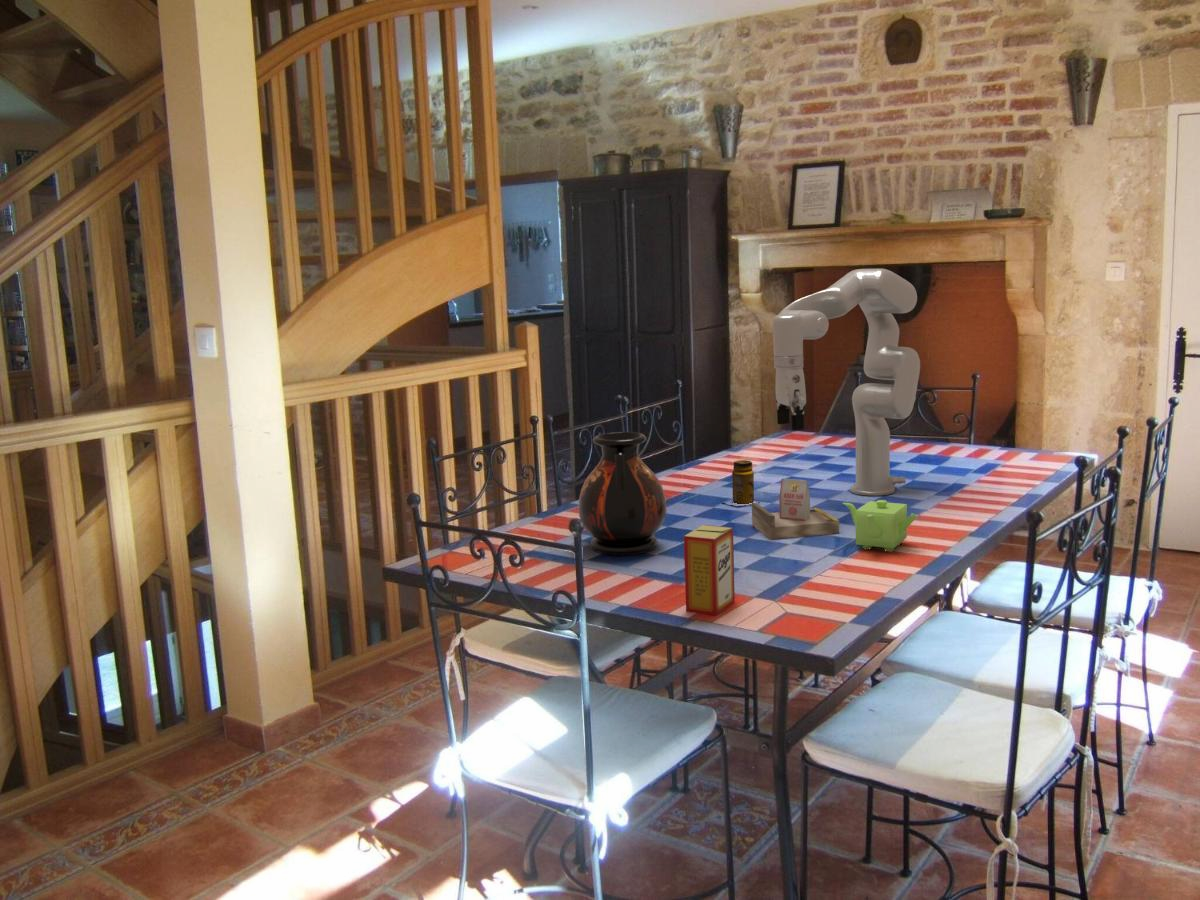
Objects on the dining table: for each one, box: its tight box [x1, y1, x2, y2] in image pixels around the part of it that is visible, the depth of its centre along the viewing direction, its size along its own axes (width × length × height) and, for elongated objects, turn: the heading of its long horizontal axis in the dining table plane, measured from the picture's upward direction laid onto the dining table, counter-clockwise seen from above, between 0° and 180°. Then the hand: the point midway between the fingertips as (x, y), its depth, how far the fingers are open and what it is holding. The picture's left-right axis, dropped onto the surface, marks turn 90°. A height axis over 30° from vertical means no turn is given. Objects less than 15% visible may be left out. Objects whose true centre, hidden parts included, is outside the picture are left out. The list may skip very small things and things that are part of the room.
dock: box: [751, 503, 840, 540], centre depth 266 cm, size 18×14×6 cm
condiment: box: [731, 459, 755, 504], centre depth 295 cm, size 7×8×12 cm
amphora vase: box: [577, 431, 667, 556], centre depth 254 cm, size 22×22×28 cm
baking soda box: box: [683, 524, 736, 616], centre depth 210 cm, size 10×6×16 cm
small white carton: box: [778, 478, 811, 521], centre depth 265 cm, size 4×7×10 cm, turn 59°
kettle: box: [842, 499, 918, 552], centre depth 247 cm, size 15×14×11 cm
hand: (790, 426), depth 273 cm, fingers open, 9 cm apart
